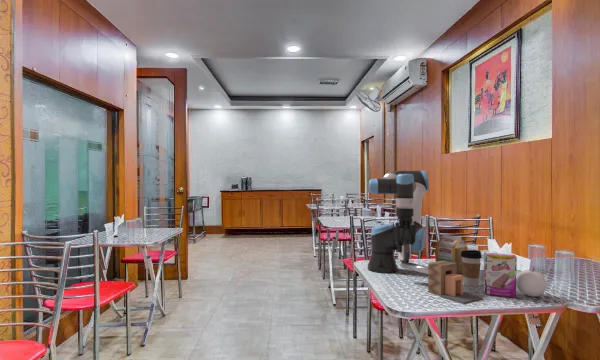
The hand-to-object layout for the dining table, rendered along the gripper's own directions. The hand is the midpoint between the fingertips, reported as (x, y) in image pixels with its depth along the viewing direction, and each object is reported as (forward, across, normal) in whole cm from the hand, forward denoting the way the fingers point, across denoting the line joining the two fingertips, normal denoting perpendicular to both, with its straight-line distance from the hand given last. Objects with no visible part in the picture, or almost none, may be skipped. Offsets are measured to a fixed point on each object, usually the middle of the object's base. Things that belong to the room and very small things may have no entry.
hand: (404, 258), depth 166 cm
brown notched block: (+10, 0, -20) cm, 22 cm away
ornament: (+10, +27, -41) cm, 50 cm away
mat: (+10, 0, -28) cm, 30 cm away
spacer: (+6, 0, -25) cm, 26 cm away
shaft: (+4, 0, -9) cm, 10 cm away
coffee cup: (+10, +21, -19) cm, 30 cm away
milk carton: (+10, +31, -2) cm, 33 cm away
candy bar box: (+10, +17, -34) cm, 39 cm away
